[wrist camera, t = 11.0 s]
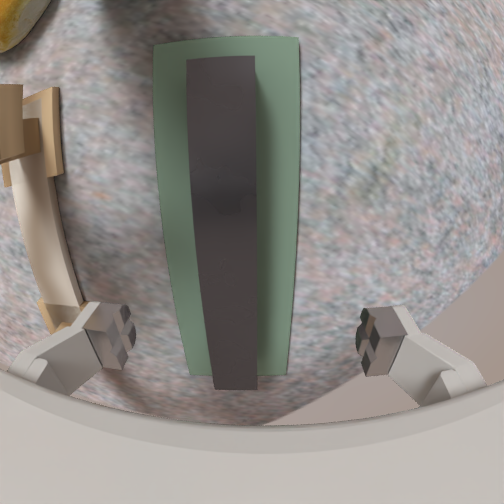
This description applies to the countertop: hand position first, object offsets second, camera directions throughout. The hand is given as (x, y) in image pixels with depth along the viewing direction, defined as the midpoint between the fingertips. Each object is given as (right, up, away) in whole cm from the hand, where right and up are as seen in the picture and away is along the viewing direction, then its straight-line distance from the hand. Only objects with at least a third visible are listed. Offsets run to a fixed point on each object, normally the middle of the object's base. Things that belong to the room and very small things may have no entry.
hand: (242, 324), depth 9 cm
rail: (-1, +3, +8) cm, 8 cm away
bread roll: (-18, +22, 0) cm, 28 cm away
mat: (-1, +3, +8) cm, 9 cm away
